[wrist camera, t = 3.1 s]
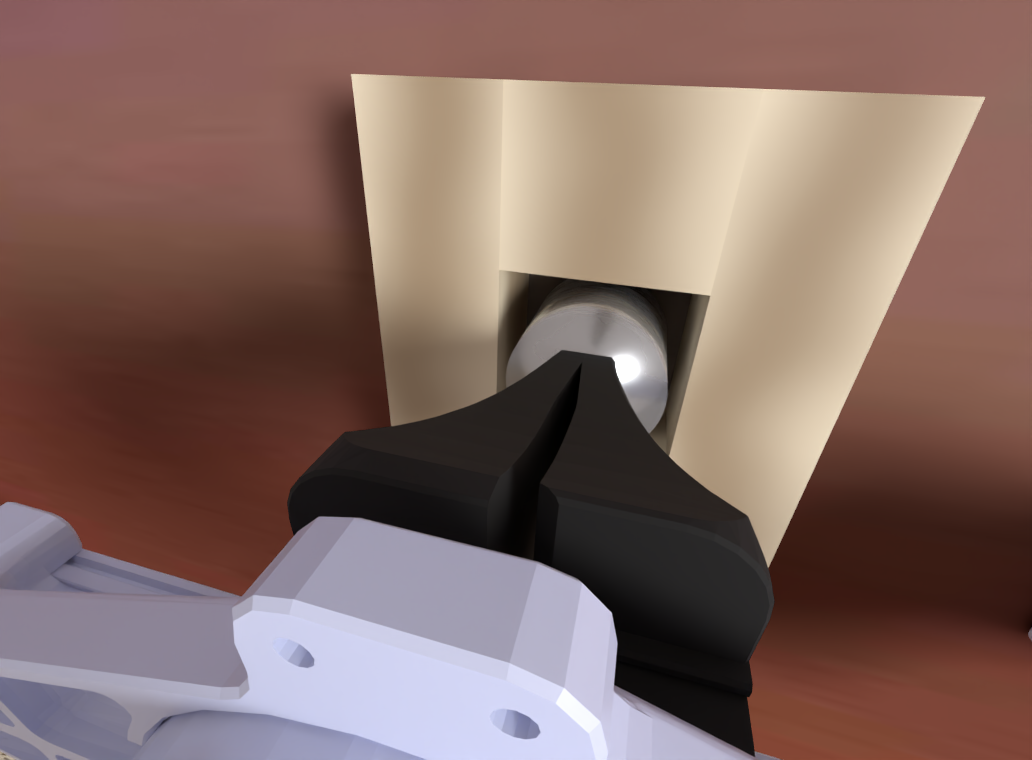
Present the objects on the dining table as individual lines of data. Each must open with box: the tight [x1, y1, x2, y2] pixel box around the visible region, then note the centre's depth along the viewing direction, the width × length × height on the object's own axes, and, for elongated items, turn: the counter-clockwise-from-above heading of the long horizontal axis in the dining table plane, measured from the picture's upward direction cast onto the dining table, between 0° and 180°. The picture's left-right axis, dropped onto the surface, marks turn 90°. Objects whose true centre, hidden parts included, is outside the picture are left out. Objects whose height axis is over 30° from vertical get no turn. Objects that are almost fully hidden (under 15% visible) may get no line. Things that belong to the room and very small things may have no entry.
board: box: [351, 74, 985, 568], centre depth 17 cm, size 12×24×4 cm, turn 178°
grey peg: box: [506, 278, 668, 433], centre depth 13 cm, size 4×4×3 cm
